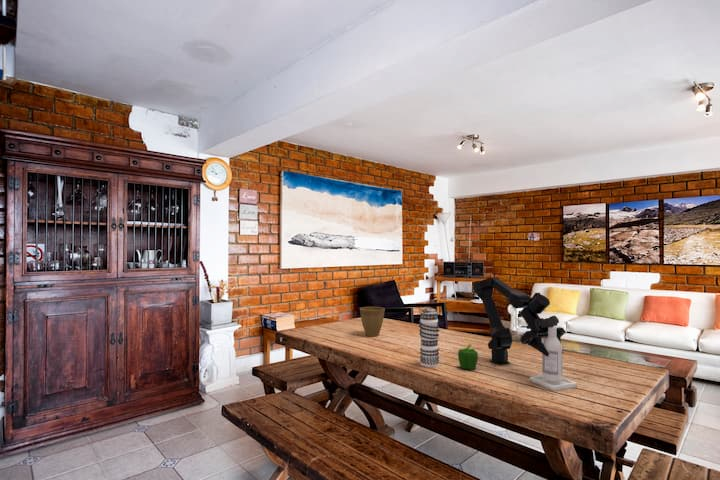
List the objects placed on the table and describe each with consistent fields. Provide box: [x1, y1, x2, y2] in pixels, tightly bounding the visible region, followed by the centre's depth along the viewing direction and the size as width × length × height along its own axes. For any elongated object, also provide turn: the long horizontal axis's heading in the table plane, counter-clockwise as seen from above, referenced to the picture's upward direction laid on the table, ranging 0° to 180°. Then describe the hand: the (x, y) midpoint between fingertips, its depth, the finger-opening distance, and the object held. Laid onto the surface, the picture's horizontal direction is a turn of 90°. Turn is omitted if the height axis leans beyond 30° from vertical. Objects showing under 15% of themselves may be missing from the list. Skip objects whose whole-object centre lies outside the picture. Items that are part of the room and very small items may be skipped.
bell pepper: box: [457, 343, 479, 370], centre depth 175 cm, size 8×8×10 cm
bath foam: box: [541, 326, 563, 381], centre depth 155 cm, size 7×7×20 cm
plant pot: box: [359, 306, 386, 338], centre depth 237 cm, size 15×15×16 cm
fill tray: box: [529, 374, 578, 392], centre depth 154 cm, size 12×12×2 cm
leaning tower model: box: [418, 307, 441, 368], centre depth 181 cm, size 9×9×25 cm
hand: (555, 354), depth 153 cm, fingers closed on bath foam, 7 cm apart
